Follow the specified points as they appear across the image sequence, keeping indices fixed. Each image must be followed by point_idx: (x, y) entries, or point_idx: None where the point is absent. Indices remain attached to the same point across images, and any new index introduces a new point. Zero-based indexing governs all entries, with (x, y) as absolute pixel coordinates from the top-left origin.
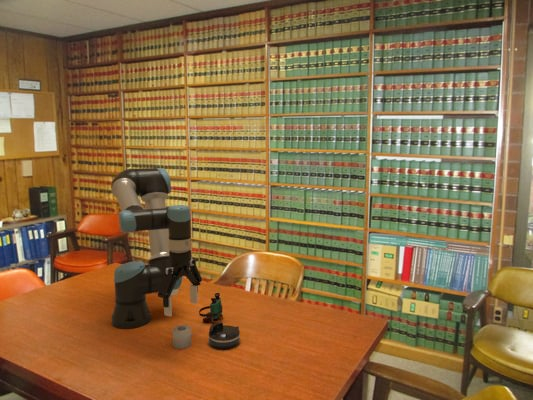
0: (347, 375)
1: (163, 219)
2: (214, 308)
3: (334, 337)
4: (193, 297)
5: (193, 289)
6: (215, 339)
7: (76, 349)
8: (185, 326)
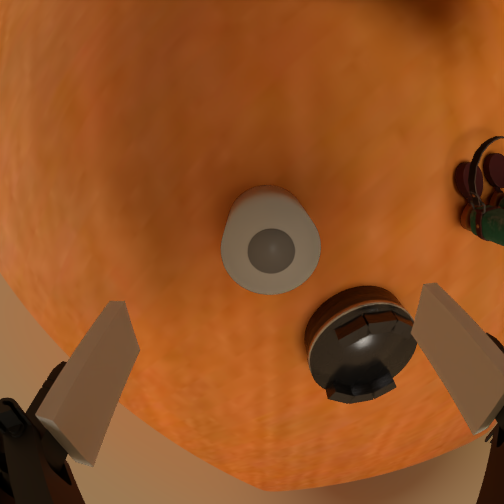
0: (322, 486)
1: None
2: (499, 242)
3: (434, 438)
4: (437, 338)
5: (470, 390)
6: (310, 360)
7: None
8: (304, 247)
